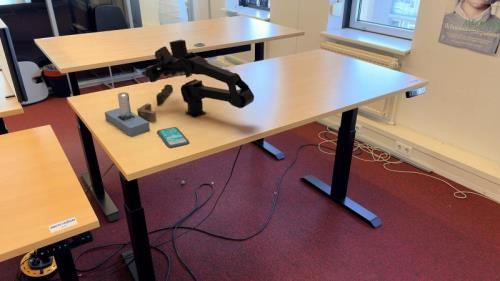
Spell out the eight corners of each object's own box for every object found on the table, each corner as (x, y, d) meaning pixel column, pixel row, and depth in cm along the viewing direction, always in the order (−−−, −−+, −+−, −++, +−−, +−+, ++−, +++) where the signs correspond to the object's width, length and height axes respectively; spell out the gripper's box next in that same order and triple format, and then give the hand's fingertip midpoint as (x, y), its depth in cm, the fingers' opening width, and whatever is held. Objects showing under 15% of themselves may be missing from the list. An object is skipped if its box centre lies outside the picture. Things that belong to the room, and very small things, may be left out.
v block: (151, 111, 163) (150, 102, 161) (157, 121, 154) (156, 112, 152) (136, 113, 160) (135, 105, 158) (141, 124, 151) (140, 115, 149)
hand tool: (165, 91, 185) (164, 82, 183) (173, 92, 185) (172, 83, 182) (151, 106, 168) (150, 96, 166) (160, 107, 168) (159, 97, 166)
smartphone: (168, 147, 134) (155, 130, 146) (168, 149, 135) (155, 132, 146) (191, 142, 138) (176, 126, 149) (191, 144, 138) (177, 128, 150)
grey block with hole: (149, 130, 147) (149, 122, 145) (131, 136, 142) (130, 128, 140) (123, 114, 159) (122, 106, 158) (105, 120, 154) (104, 112, 152)
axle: (134, 125, 151) (130, 94, 144) (125, 128, 148) (120, 97, 142) (129, 122, 153) (125, 91, 147) (120, 124, 150) (115, 94, 144)
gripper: (183, 41, 161) (156, 45, 168) (156, 54, 146) (127, 58, 154) (191, 66, 165) (164, 69, 173) (165, 81, 151) (137, 84, 159)
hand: (148, 69), depth 164 cm, fingers open, 9 cm apart
